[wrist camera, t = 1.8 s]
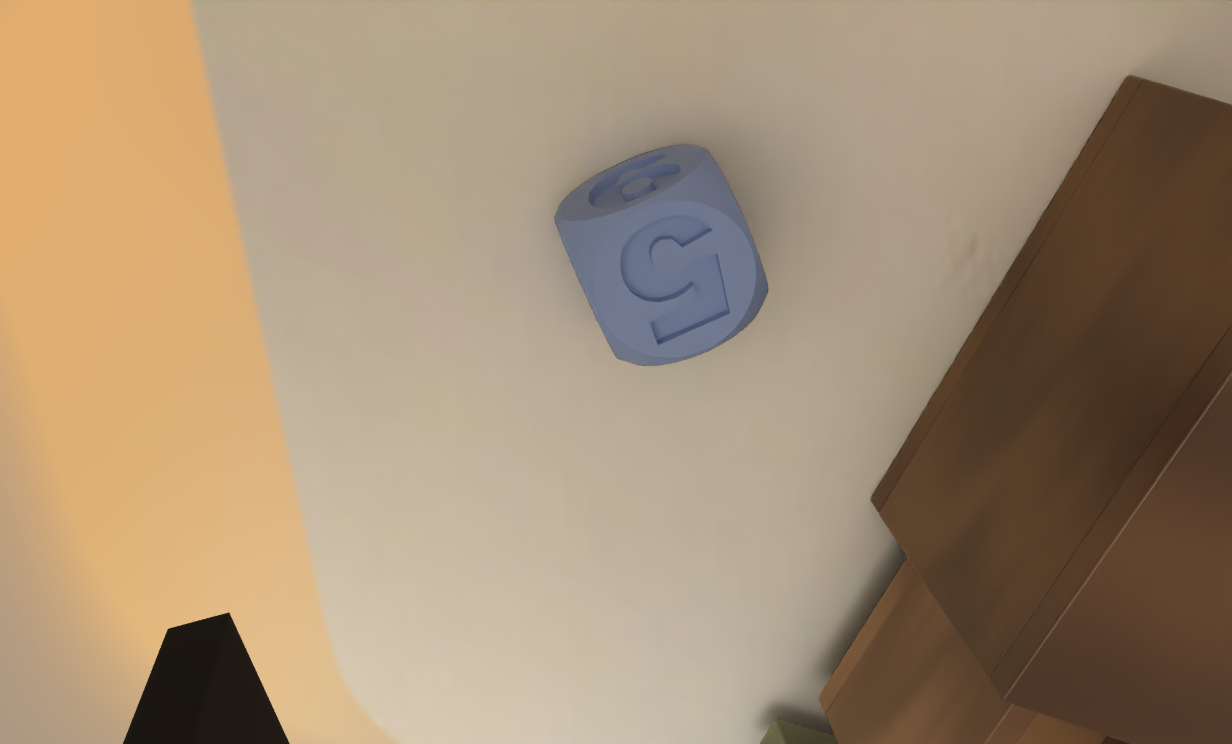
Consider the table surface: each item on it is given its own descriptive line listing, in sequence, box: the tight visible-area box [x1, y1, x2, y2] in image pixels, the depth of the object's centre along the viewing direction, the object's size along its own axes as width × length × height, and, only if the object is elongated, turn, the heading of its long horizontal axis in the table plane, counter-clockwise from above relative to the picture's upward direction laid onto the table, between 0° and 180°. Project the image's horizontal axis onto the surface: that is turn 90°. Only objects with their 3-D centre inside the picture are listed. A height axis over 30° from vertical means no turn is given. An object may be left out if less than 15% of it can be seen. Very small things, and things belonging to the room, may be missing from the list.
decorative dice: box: [554, 145, 768, 366], centre depth 28 cm, size 4×4×4 cm
